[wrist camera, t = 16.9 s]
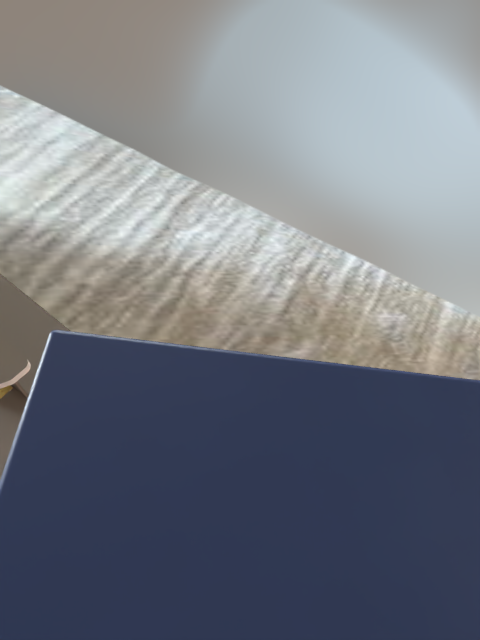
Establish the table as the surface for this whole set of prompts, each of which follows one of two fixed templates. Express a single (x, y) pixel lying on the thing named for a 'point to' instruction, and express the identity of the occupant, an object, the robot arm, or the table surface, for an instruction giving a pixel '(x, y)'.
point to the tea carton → (238, 498)
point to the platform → (19, 356)
